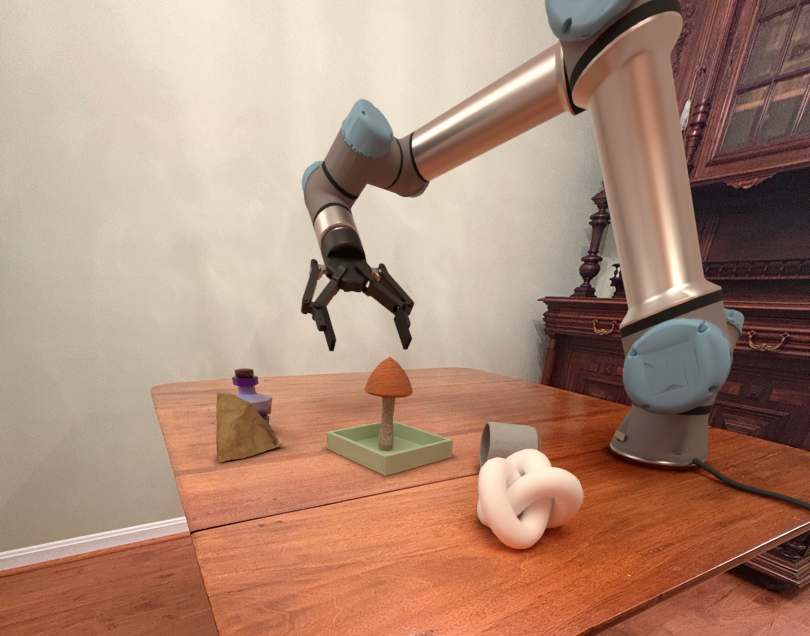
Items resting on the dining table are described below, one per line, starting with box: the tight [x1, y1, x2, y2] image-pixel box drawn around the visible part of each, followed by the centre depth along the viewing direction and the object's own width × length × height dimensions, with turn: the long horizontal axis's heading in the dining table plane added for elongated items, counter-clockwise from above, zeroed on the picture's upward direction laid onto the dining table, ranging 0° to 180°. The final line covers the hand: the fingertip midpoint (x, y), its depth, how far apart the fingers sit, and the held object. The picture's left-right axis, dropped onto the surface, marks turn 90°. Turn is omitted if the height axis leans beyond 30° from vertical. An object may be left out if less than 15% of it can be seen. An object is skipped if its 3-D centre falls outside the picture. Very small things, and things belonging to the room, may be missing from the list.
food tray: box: [325, 420, 454, 477], centre depth 73 cm, size 17×15×3 cm
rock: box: [215, 392, 281, 464], centre depth 71 cm, size 11×9×10 cm
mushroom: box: [363, 356, 414, 451], centre depth 70 cm, size 8×8×15 cm
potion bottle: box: [231, 368, 273, 424], centre depth 79 cm, size 9×9×12 cm
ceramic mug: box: [478, 420, 542, 469], centre depth 67 cm, size 11×8×8 cm
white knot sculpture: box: [476, 449, 584, 550], centre depth 48 cm, size 11×12×9 cm
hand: (371, 345), depth 72 cm, fingers open, 13 cm apart
